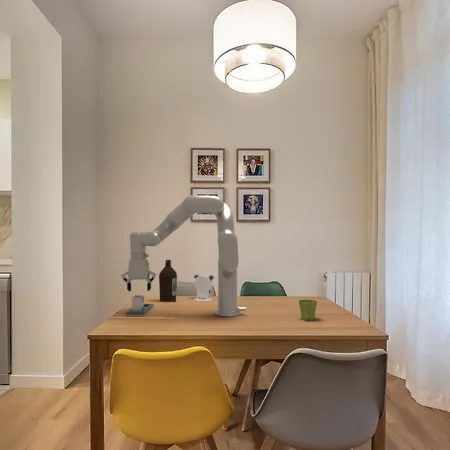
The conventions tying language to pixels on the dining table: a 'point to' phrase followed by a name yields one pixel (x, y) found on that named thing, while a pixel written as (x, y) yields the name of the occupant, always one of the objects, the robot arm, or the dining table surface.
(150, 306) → the rail
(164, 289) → the olive oil
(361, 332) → the dining table surface
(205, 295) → the panda figurine
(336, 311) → the dining table surface
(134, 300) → the block
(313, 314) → the plant pot
